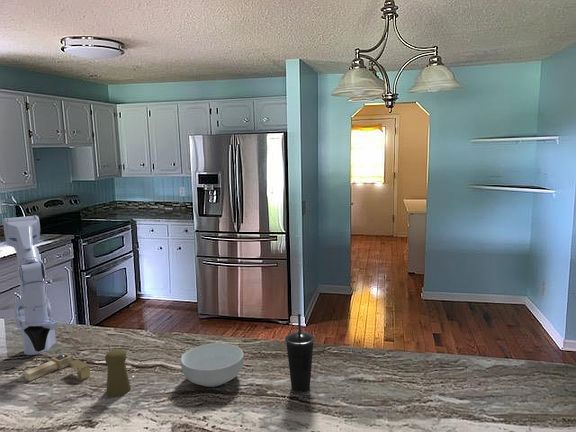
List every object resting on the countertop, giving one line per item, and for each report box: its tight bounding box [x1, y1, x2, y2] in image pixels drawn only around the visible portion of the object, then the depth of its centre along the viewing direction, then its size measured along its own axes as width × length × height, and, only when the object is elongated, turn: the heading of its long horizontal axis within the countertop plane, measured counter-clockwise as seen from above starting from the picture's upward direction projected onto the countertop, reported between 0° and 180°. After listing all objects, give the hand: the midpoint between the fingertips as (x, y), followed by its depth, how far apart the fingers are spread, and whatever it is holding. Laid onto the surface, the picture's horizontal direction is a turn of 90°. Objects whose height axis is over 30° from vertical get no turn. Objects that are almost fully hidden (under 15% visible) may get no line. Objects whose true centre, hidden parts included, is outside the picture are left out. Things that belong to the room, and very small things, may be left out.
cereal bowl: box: [180, 342, 245, 388], centre depth 120 cm, size 17×17×7 cm
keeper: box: [69, 359, 91, 381], centre depth 123 cm, size 7×2×4 cm, turn 52°
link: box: [23, 352, 74, 382], centre depth 126 cm, size 12×4×2 cm, turn 147°
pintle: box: [57, 353, 65, 360], centre depth 129 cm, size 2×2×4 cm
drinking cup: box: [284, 313, 316, 393], centre depth 114 cm, size 8×8×20 cm
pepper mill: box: [104, 348, 132, 398], centre depth 115 cm, size 6×6×11 cm
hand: (40, 350), depth 127 cm, fingers closed
